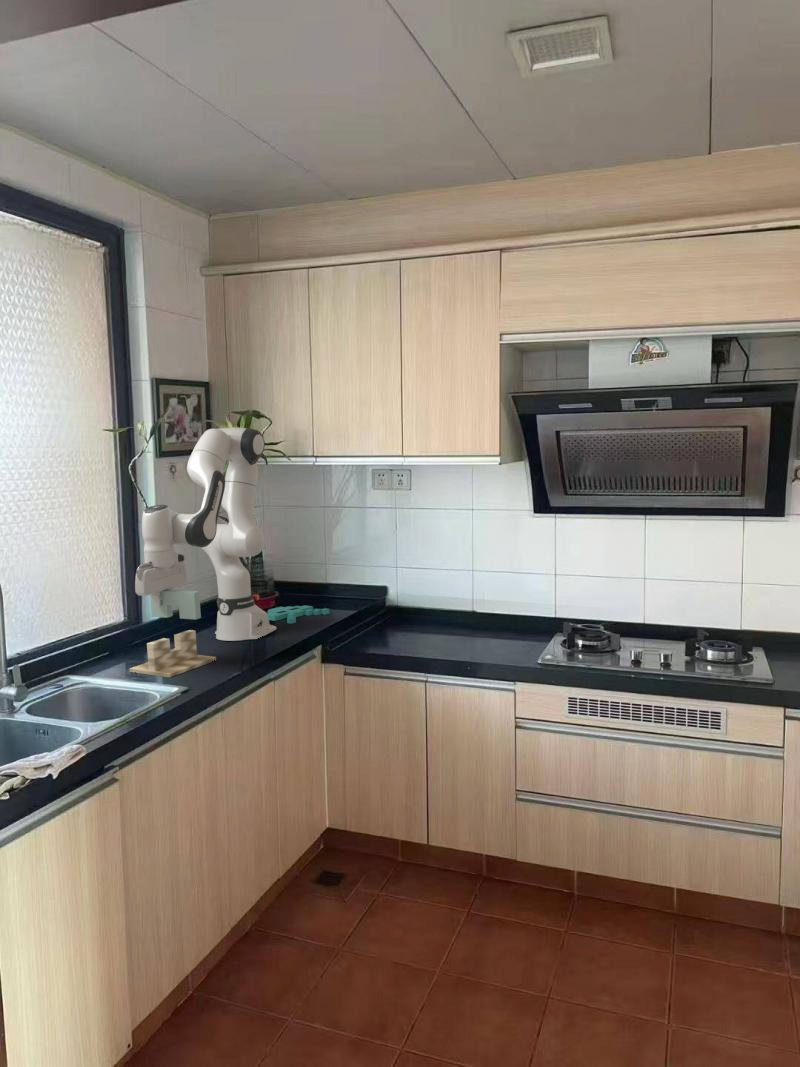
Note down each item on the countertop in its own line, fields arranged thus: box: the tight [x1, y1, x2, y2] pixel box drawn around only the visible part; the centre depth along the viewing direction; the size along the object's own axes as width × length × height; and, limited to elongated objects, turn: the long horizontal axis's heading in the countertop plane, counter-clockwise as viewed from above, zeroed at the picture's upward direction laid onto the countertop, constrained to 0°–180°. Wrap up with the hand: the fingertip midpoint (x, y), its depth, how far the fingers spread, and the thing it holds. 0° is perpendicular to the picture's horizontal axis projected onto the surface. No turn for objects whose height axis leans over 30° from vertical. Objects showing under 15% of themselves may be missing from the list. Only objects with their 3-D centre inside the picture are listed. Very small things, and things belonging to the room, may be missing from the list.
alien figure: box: [266, 604, 330, 624], centre depth 322 cm, size 20×2×20 cm
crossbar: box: [149, 589, 202, 620], centre depth 253 cm, size 16×2×8 cm, turn 68°
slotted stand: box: [129, 629, 217, 678], centre depth 255 cm, size 20×16×9 cm
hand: (163, 604), depth 254 cm, fingers closed on crossbar, 2 cm apart
